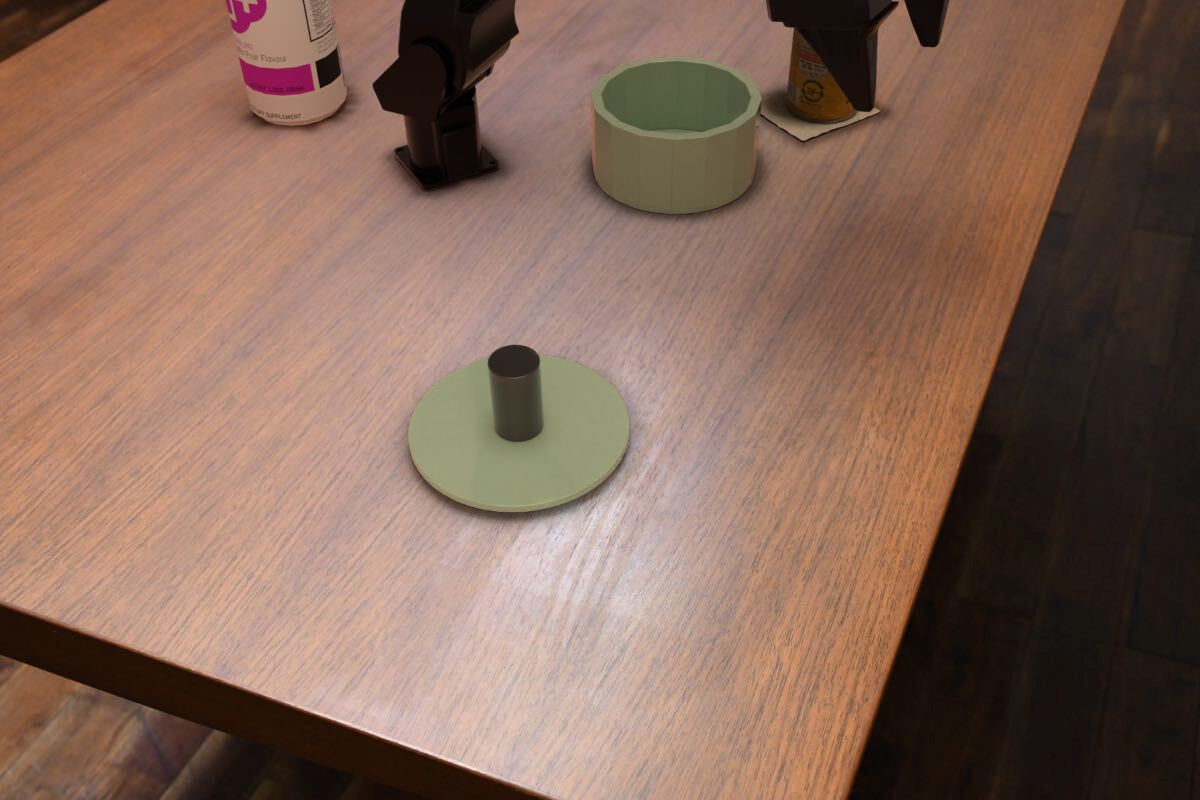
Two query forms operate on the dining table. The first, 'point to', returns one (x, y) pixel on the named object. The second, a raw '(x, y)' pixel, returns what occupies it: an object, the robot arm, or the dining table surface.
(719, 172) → the canister
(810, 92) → the yellow drink can
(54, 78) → the dining table surface
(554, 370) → the lid
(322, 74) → the supplement can
